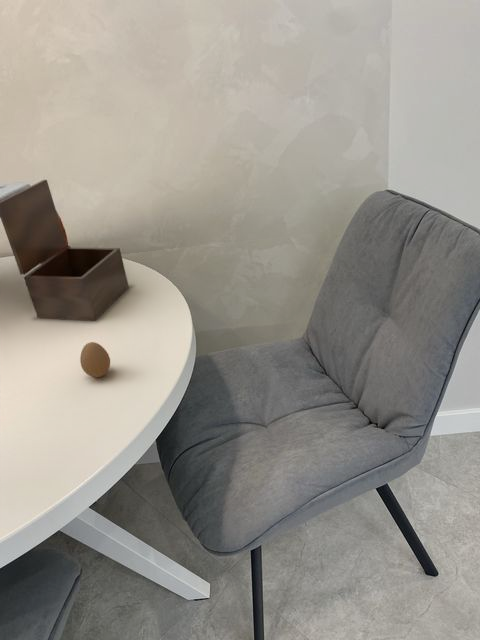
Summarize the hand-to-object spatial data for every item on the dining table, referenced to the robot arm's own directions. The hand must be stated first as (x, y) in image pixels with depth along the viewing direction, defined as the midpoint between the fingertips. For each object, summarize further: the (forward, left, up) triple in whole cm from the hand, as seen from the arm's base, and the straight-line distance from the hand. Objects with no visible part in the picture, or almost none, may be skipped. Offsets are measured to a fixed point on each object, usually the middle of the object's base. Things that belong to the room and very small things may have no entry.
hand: (24, 206), depth 102 cm
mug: (-7, +18, -20) cm, 28 cm away
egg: (+20, -27, -20) cm, 39 cm away
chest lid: (+1, 0, -4) cm, 4 cm away
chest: (+7, -1, -20) cm, 21 cm away
